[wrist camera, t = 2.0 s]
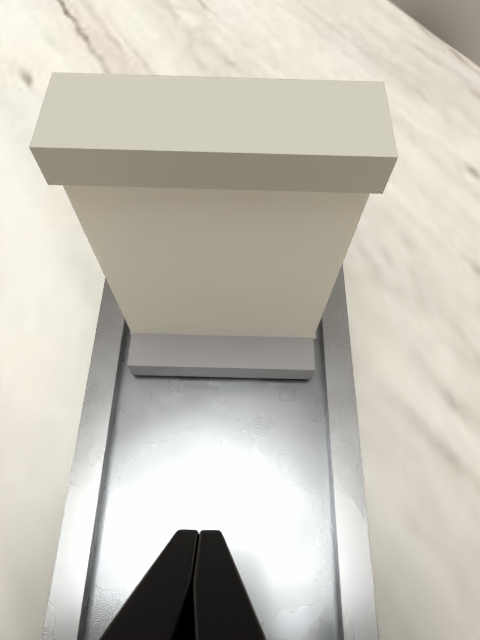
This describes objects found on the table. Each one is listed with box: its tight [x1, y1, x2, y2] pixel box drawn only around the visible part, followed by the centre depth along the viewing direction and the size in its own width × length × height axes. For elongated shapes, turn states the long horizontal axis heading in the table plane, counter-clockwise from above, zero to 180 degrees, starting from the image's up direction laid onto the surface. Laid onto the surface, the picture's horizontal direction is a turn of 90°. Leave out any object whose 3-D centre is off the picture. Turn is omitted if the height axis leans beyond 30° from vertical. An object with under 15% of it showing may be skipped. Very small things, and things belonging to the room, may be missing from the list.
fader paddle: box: [29, 72, 398, 379], centre depth 16 cm, size 5×8×12 cm, turn 89°
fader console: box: [42, 263, 379, 640], centre depth 21 cm, size 24×12×3 cm, turn 179°
